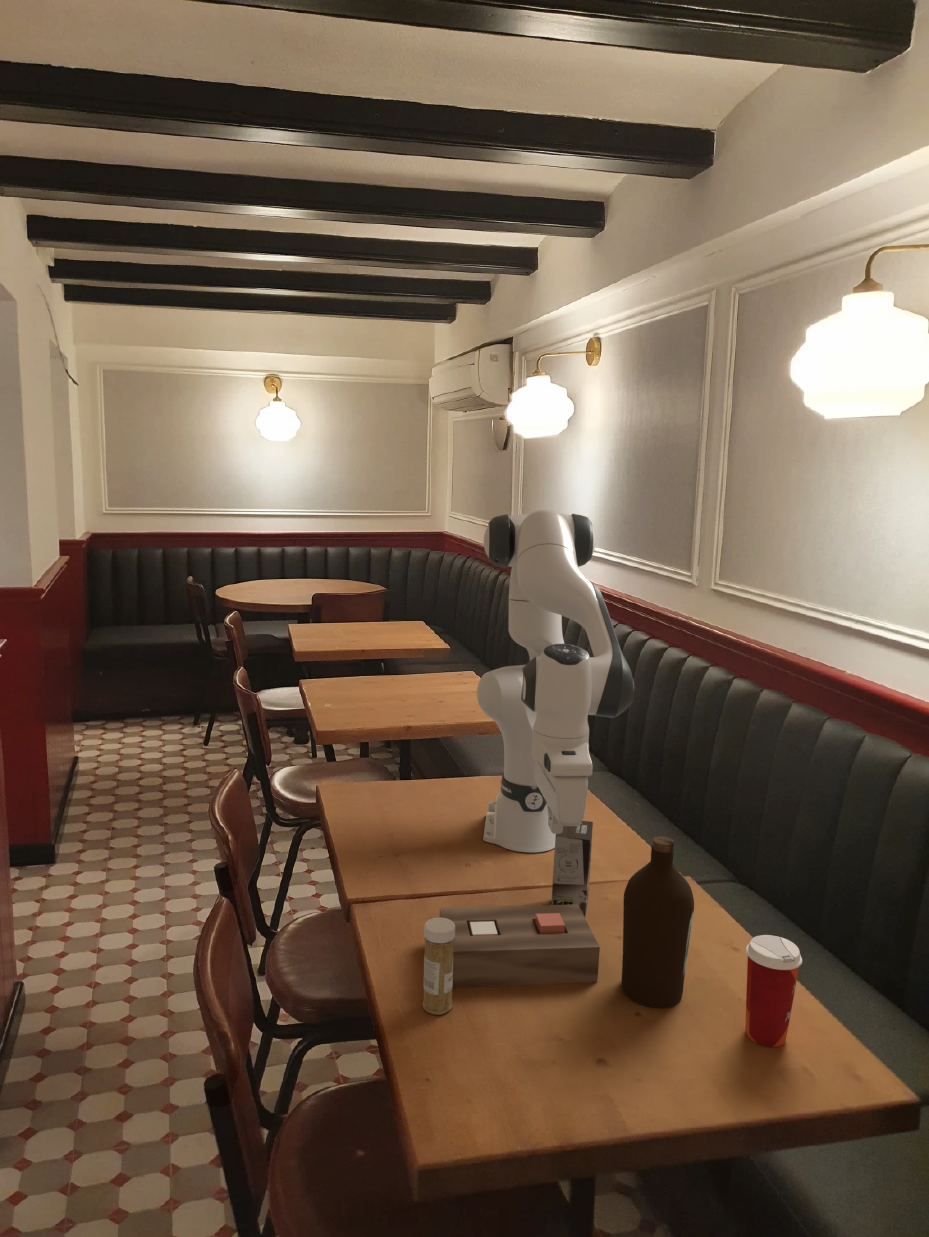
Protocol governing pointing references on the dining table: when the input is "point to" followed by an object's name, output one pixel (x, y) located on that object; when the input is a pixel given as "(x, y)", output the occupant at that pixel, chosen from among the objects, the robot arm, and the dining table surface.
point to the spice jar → (438, 965)
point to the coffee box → (572, 866)
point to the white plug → (482, 928)
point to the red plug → (549, 923)
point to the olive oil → (656, 930)
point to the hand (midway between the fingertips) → (554, 830)
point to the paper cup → (770, 988)
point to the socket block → (522, 947)
